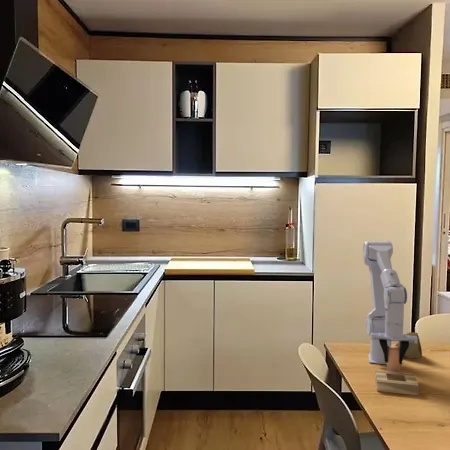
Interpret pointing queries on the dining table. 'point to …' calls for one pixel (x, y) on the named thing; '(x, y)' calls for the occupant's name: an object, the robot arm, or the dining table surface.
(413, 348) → the rock
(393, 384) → the socket block
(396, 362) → the peg
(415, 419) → the dining table surface
